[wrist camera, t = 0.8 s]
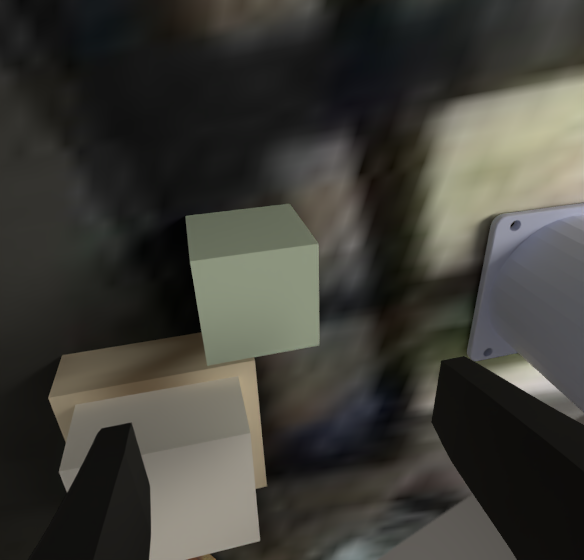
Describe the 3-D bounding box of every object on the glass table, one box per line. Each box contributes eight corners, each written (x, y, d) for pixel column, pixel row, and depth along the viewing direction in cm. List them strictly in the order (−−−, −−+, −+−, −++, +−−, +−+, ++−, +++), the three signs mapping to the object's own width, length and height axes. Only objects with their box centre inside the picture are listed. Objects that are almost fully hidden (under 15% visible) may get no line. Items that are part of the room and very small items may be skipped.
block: (289, 203, 18) (318, 243, 14) (292, 291, 20) (319, 345, 16) (185, 215, 17) (190, 261, 13) (199, 305, 19) (207, 365, 15)
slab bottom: (243, 319, 20) (254, 360, 18) (255, 437, 24) (266, 486, 21) (64, 348, 19) (48, 398, 16) (106, 470, 22) (98, 526, 20)
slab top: (238, 376, 18) (250, 432, 15) (248, 478, 21) (260, 541, 18) (75, 404, 17) (58, 471, 14) (110, 509, 19) (101, 581, 17)
